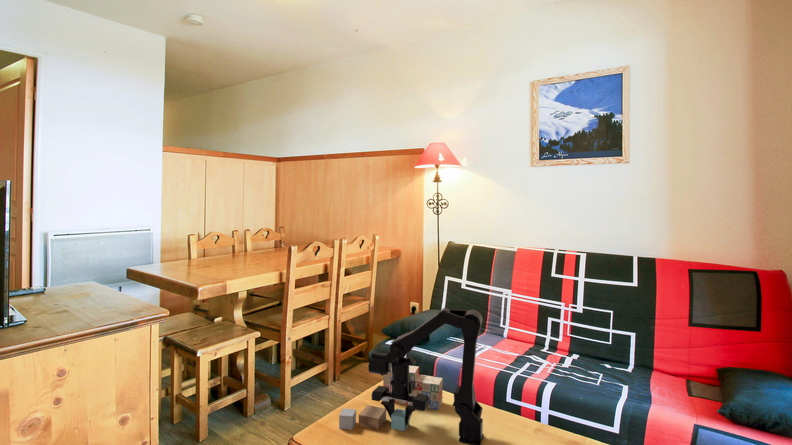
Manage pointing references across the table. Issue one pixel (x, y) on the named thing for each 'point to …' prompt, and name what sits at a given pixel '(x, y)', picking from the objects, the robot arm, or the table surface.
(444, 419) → the table surface
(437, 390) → the stack of blocks
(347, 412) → the light grey cube
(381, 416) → the walnut block
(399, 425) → the teal cube
